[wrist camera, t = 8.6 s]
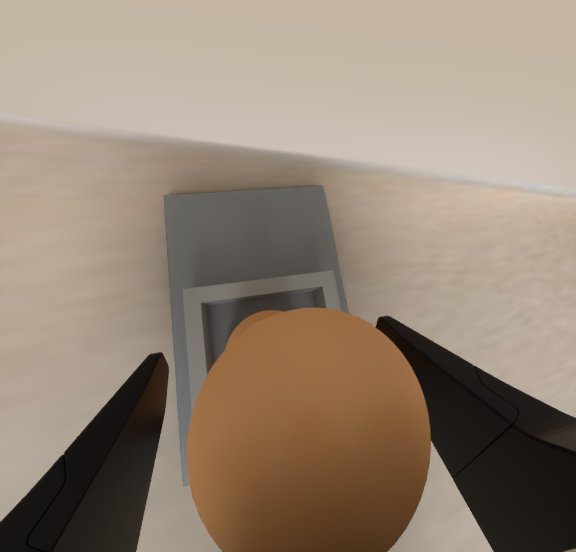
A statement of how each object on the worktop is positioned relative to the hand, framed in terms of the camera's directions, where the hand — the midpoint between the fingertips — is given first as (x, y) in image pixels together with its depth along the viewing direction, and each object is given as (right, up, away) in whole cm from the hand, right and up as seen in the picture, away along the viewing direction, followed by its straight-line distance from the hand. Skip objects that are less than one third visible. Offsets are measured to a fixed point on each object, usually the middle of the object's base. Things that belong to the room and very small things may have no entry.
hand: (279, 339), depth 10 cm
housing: (-2, 0, +9) cm, 9 cm away
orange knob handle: (-1, -3, +7) cm, 8 cm away
